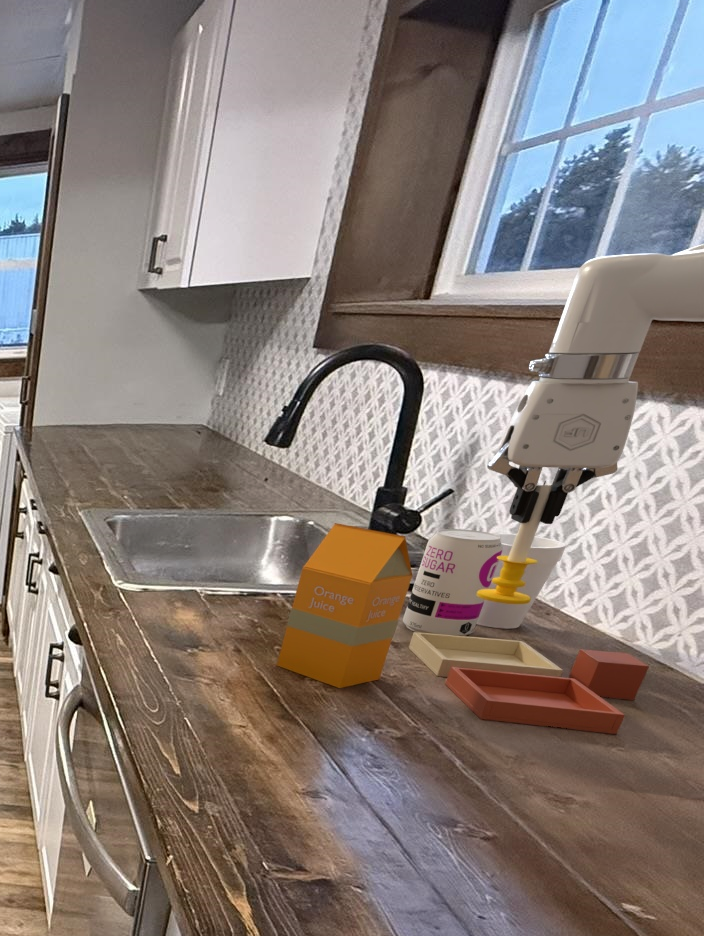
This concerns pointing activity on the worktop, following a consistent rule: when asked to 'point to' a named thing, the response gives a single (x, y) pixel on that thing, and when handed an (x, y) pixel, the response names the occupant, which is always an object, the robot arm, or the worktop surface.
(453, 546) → the supplement can
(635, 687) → the terracotta block
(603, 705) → the terracotta tray
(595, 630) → the worktop surface
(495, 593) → the candle
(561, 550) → the foam cup
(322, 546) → the orange juice
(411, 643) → the cream tray
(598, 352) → the robot arm
